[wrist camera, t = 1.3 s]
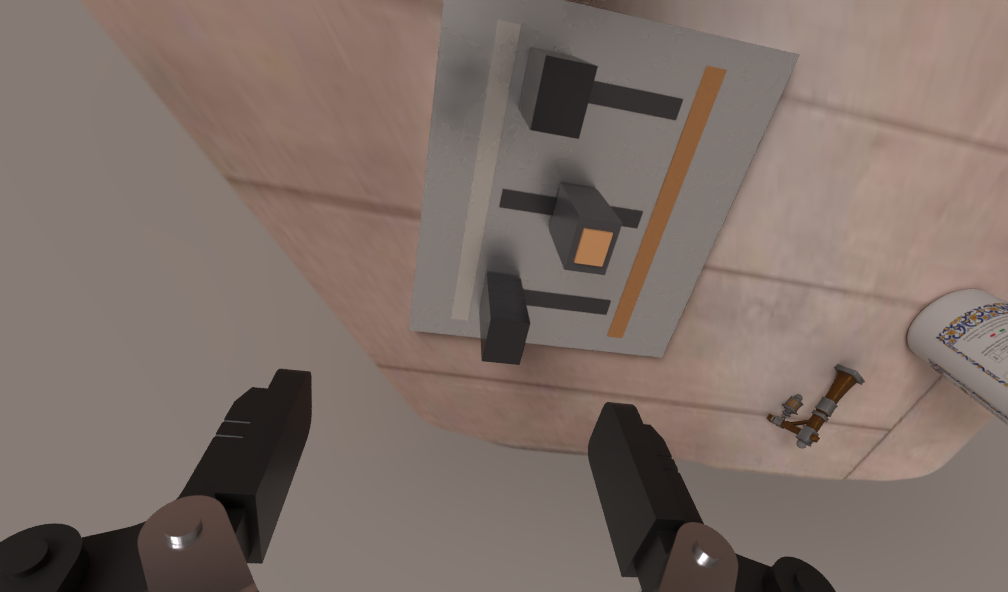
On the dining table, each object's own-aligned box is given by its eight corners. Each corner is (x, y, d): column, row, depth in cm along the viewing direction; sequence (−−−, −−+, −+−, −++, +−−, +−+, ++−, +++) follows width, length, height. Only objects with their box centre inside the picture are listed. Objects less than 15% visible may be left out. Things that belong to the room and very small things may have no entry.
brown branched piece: (757, 422, 43) (803, 447, 39) (808, 354, 44) (859, 371, 39) (766, 431, 44) (812, 457, 40) (817, 364, 44) (867, 382, 40)
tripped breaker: (597, 189, 30) (623, 224, 25) (583, 235, 31) (605, 277, 26) (560, 183, 29) (580, 217, 24) (548, 230, 31) (564, 271, 26)
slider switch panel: (787, 53, 28) (875, 64, 22) (656, 348, 39) (691, 409, 33) (447, -26, 24) (442, -37, 18) (410, 321, 35) (400, 383, 29)
